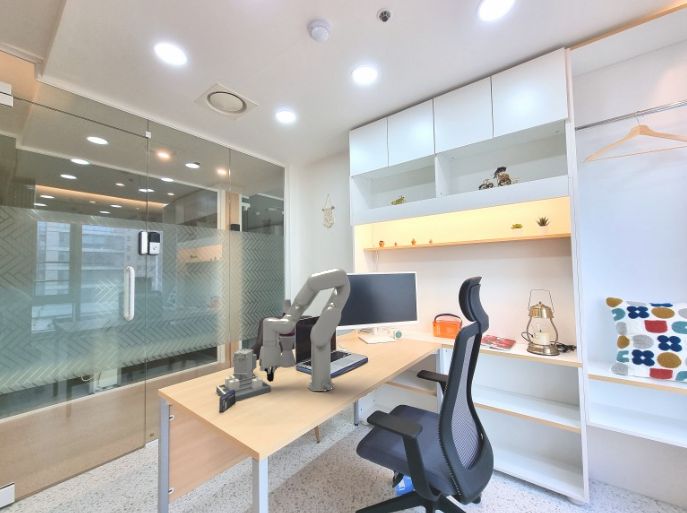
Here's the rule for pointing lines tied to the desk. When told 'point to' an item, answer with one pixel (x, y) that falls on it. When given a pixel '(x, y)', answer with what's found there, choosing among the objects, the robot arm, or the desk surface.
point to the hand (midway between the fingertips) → (270, 380)
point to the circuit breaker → (244, 363)
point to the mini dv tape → (226, 401)
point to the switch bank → (244, 389)
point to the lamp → (287, 341)
